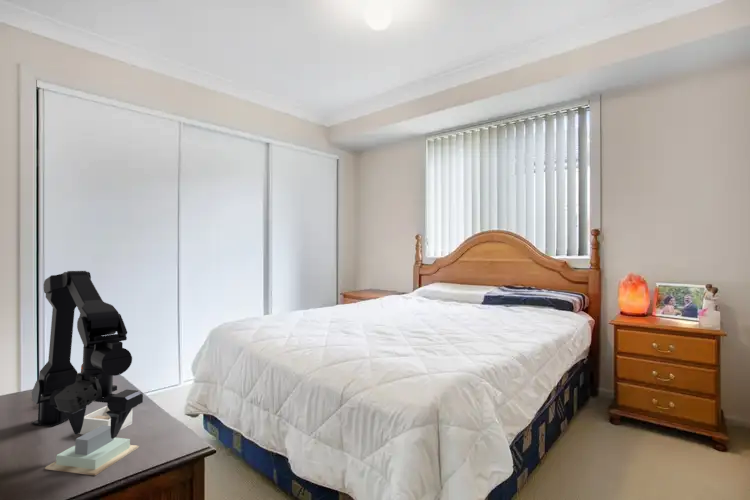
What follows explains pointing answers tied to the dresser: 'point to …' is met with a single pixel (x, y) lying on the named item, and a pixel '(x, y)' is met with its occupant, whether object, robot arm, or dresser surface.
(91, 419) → the storage box
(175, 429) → the dresser surface
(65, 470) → the cork mat
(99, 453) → the lid
